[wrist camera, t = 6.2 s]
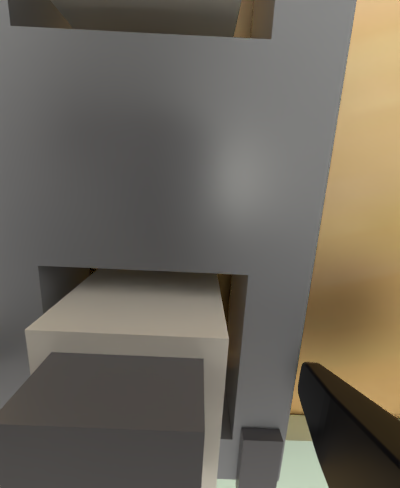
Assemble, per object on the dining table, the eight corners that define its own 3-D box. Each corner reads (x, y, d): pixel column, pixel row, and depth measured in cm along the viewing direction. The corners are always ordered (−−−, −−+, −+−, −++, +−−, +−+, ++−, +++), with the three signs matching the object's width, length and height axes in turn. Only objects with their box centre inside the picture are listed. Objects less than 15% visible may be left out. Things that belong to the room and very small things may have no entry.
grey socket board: (335, -215, 7) (471, -619, 3) (258, 407, 11) (281, 499, 8) (-7, -235, 6) (-222, -670, 3) (60, 400, 11) (1, 489, 8)
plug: (215, 264, 10) (241, 405, 4) (209, 356, 11) (221, 593, 5) (108, 260, 10) (-53, 393, 4) (112, 352, 11) (-9, 584, 5)
